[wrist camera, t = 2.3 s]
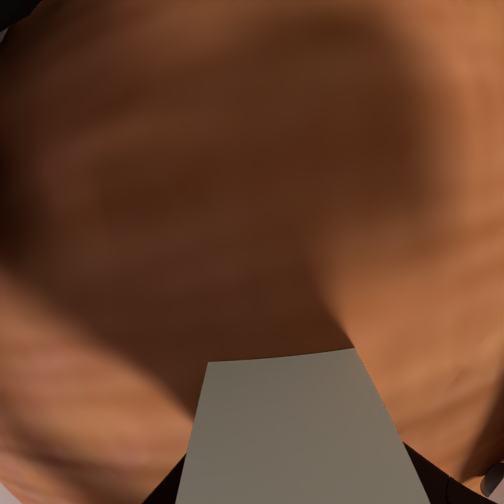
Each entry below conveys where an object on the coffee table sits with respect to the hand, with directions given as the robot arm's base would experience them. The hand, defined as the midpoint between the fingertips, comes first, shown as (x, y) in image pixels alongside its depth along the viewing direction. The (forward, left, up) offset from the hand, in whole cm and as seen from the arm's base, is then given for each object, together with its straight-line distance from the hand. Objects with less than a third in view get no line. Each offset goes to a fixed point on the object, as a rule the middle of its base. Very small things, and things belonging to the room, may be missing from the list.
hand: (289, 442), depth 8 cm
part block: (0, 0, -2) cm, 2 cm away
